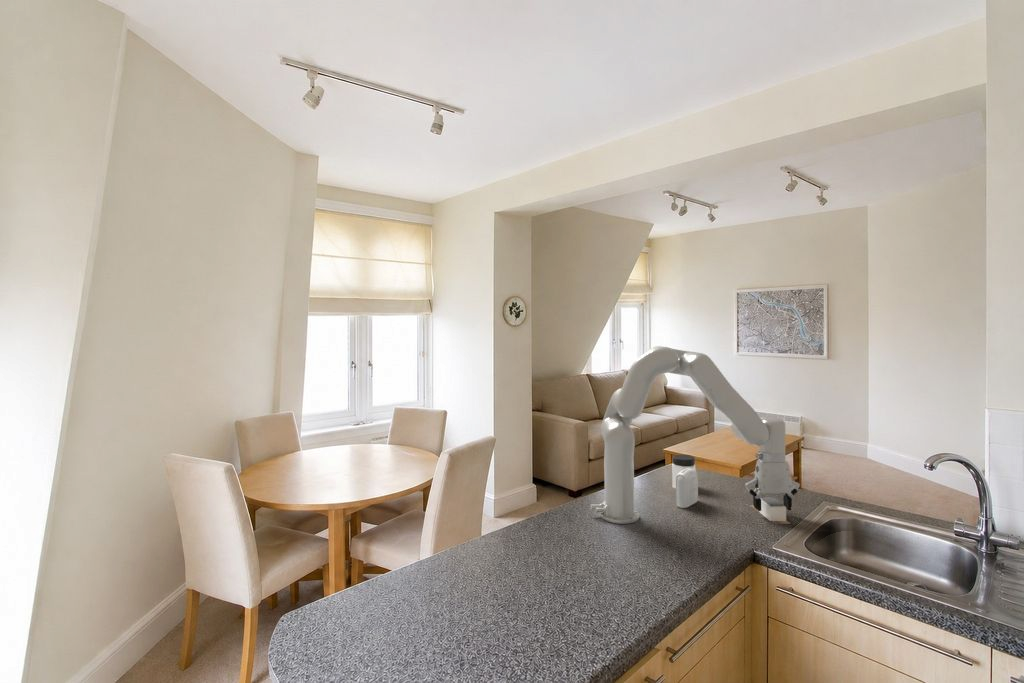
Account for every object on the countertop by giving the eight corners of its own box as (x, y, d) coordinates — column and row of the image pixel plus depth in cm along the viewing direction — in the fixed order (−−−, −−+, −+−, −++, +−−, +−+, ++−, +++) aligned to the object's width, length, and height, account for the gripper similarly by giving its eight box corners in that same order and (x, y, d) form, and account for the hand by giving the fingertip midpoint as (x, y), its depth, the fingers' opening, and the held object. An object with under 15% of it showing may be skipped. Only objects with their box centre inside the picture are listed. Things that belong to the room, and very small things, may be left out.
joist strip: (775, 524, 151) (774, 523, 151) (749, 505, 167) (749, 505, 167) (790, 524, 151) (790, 523, 151) (764, 505, 167) (764, 504, 167)
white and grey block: (769, 521, 153) (769, 505, 153) (758, 511, 161) (758, 496, 161) (786, 521, 153) (786, 505, 153) (774, 511, 161) (774, 496, 161)
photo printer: (688, 498, 175) (687, 465, 175) (699, 501, 172) (699, 467, 172) (674, 506, 168) (673, 471, 168) (685, 509, 165) (685, 473, 165)
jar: (674, 483, 193) (674, 453, 193) (696, 485, 189) (696, 455, 189) (670, 489, 185) (670, 458, 185) (693, 492, 181) (693, 461, 181)
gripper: (751, 460, 153) (751, 514, 153) (806, 459, 153) (806, 513, 153) (740, 454, 160) (740, 505, 161) (792, 453, 160) (792, 504, 161)
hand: (772, 509), depth 157 cm, fingers open, 9 cm apart
